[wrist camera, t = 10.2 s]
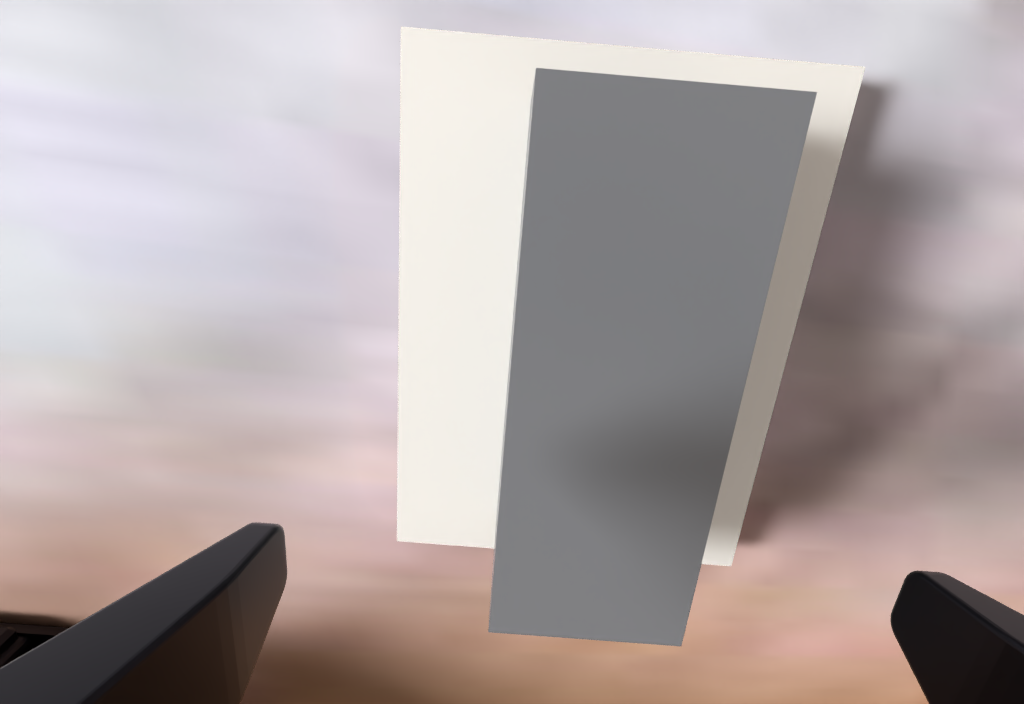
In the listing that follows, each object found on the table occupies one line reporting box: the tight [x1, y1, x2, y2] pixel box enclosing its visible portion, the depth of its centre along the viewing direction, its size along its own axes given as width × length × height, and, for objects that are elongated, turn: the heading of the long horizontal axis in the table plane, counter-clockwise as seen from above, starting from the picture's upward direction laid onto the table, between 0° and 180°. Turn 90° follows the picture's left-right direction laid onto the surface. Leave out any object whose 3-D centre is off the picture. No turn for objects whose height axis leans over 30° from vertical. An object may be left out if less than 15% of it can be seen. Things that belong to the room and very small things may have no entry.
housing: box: [489, 68, 817, 646], centre depth 14 cm, size 13×5×5 cm, turn 176°
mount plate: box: [397, 27, 865, 566], centre depth 15 cm, size 16×12×4 cm
